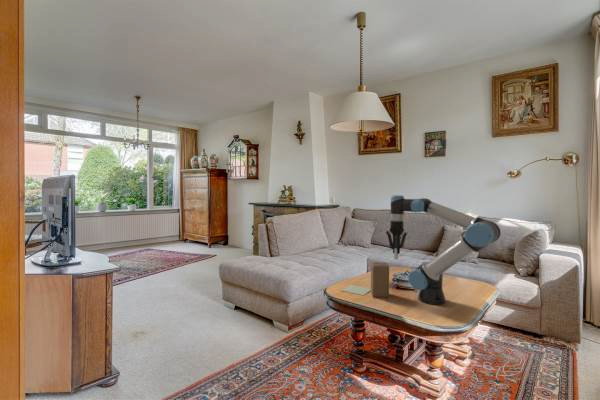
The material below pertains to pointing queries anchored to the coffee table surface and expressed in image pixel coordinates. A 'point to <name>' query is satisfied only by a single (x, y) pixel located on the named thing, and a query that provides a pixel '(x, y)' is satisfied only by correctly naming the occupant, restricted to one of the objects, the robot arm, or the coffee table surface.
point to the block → (380, 279)
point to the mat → (356, 290)
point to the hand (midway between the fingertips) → (396, 258)
